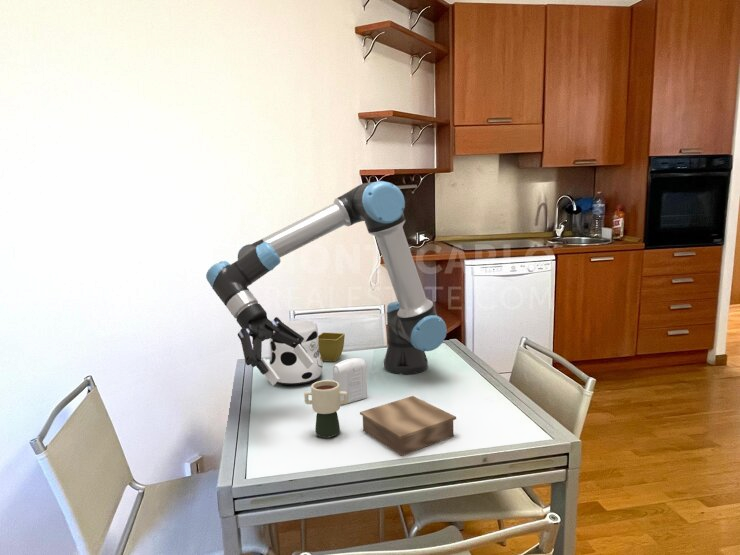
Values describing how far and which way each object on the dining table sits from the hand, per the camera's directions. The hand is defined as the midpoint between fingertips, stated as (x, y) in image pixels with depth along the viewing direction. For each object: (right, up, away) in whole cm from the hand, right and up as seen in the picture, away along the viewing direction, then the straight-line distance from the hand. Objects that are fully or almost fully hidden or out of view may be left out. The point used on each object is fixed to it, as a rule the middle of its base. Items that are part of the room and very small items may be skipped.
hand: (294, 373), depth 133 cm
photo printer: (+14, -11, +19) cm, 26 cm away
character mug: (+9, -15, -2) cm, 17 cm away
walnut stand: (+29, -14, -4) cm, 32 cm away
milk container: (-5, -9, +38) cm, 39 cm away
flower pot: (+5, -6, +57) cm, 57 cm away
